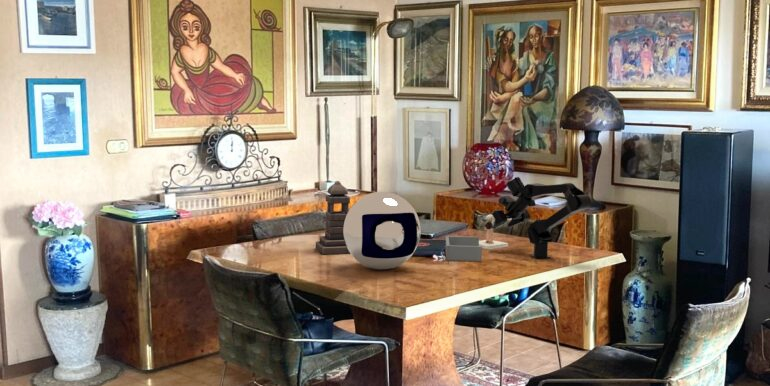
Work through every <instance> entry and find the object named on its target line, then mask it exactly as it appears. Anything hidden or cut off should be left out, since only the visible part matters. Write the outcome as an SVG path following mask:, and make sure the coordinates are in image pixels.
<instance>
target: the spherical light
mask: <svg viewBox="0 0 770 386" xmlns="http://www.w3.org/2000/svg"><path fill="white" fill-rule="evenodd" d="M421 230H422V229H421V223H420V219H419V216H418V214H417V211H416V210H415V209H414V207H413V206H412V204H410V202H409V201H407V200H406V199H405V198H404V197H402V196H401V195H398V194H396V193H393V192H388V191H376V192H371V193H368V194H366V195H363V196H361V198H358V199H357V200H356V202H354V203H353V204H352V206H350V208H349V211H348V213H347V215H346V218H345V221H344V226H343V235H344V241H345V244H346V246H347V248H348V250H349V252H350V253H351V254H350V255H351V256H352V257H353V258H354V259H355V261H357V262H358V263H359V264H361V265H362V266H365V267H367V268H370V269H373V270H380V271H381V270H382V271H385V270H390V269H394V268H397V267H399V266H401V265H402V264H404V263H406V262H407V261H408V260H409V259H410V258H411V257H412V256H413V255H414V253H415V251H416V250H417V248H418V246H419V243H420V239H421Z"/></svg>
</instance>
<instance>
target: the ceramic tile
mask: <svg viewBox="0 0 770 386" xmlns="http://www.w3.org/2000/svg"><path fill="white" fill-rule="evenodd" d="M485 242H486V239H483V240H479V246H482V249H484V250H493V249H494V250H495V249H501V248H507V247H509V243H508V242H503V241H499V240H494V239H493V242H494V244H488V243H485Z"/></svg>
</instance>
